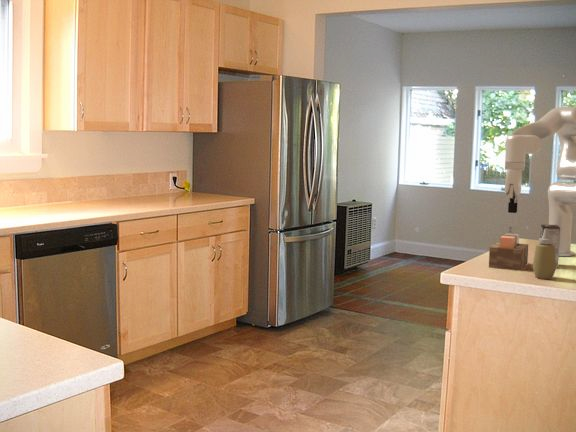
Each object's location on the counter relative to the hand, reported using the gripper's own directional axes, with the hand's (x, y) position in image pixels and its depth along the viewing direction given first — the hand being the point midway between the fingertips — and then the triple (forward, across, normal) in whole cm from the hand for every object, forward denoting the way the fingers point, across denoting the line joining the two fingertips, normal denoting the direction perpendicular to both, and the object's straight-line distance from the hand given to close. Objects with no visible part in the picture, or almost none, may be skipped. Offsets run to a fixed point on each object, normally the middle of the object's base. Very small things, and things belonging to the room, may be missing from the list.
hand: (512, 212), depth 288 cm
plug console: (+21, +4, 0) cm, 21 cm away
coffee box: (+21, -5, +14) cm, 26 cm away
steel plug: (+15, 0, 0) cm, 15 cm away
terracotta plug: (+15, +8, 0) cm, 17 cm away
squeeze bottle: (+21, +22, +16) cm, 35 cm away
